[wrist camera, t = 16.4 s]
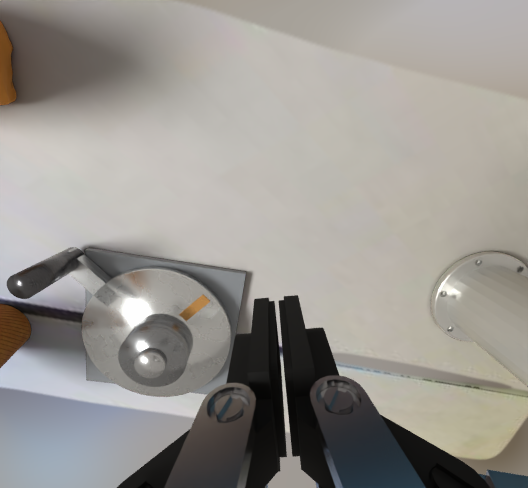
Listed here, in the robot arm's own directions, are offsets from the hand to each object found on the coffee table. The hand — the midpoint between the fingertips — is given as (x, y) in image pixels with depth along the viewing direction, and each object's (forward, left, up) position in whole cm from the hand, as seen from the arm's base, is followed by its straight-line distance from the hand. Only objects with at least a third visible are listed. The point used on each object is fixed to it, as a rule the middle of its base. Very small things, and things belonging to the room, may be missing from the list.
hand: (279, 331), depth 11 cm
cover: (+10, +17, -21) cm, 28 cm away
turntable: (+13, +15, -22) cm, 30 cm away
